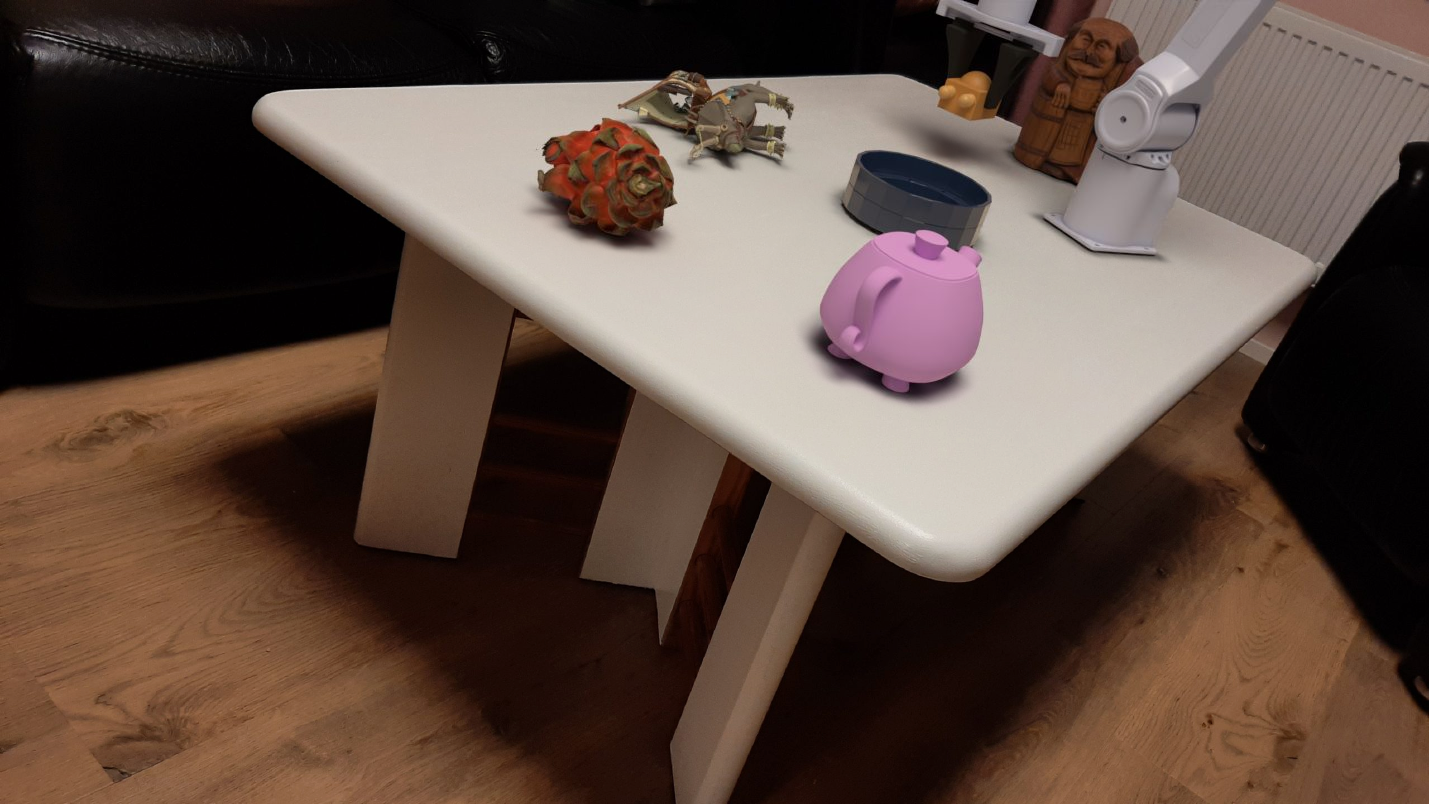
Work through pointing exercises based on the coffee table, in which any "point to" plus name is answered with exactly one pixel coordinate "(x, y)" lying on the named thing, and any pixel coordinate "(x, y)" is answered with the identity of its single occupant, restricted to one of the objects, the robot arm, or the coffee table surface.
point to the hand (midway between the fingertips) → (970, 100)
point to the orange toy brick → (967, 96)
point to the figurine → (713, 112)
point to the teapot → (906, 308)
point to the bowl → (916, 197)
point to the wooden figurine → (1076, 97)
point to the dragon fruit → (609, 177)
